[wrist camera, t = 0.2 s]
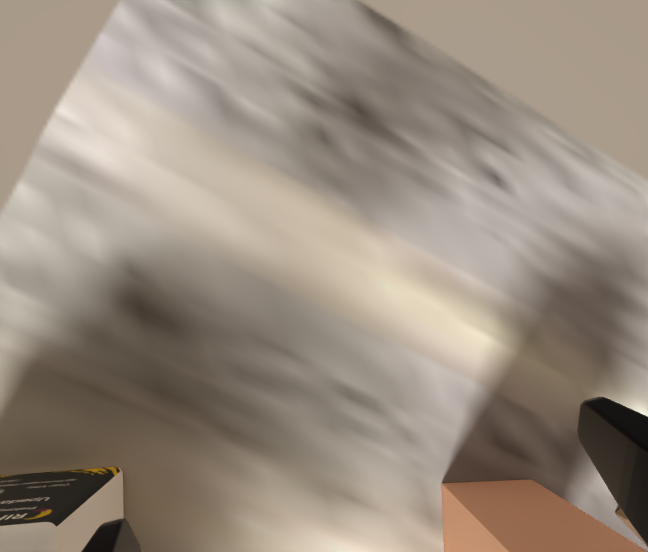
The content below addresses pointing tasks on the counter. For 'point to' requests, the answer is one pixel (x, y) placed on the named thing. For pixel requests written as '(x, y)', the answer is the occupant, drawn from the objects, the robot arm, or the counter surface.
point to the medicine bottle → (57, 508)
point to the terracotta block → (521, 521)
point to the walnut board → (627, 522)
